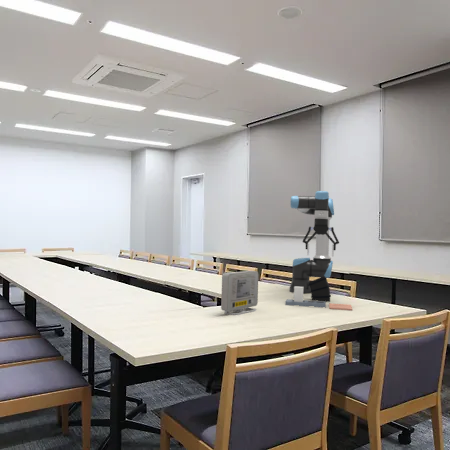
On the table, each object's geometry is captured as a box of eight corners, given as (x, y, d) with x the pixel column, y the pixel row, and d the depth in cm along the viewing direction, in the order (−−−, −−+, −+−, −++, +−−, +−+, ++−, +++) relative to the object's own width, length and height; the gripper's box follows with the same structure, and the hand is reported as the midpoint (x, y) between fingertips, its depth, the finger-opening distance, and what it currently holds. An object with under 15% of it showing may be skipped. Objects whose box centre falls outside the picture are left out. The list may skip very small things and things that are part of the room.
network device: (248, 307, 230) (249, 270, 230) (261, 309, 224) (262, 271, 225) (217, 313, 210) (218, 273, 210) (231, 316, 205) (232, 274, 205)
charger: (294, 303, 246) (294, 286, 246) (303, 304, 244) (303, 286, 244) (293, 304, 242) (294, 287, 242) (302, 305, 241) (303, 287, 241)
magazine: (334, 299, 254) (324, 276, 257) (314, 307, 259) (304, 283, 262) (335, 298, 258) (325, 275, 260) (315, 306, 263) (306, 283, 265)
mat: (329, 304, 246) (329, 303, 246) (351, 306, 243) (351, 304, 243) (329, 308, 232) (329, 307, 232) (352, 310, 230) (352, 309, 230)
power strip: (286, 302, 249) (286, 298, 249) (325, 305, 243) (325, 301, 243) (285, 304, 241) (285, 300, 241) (325, 307, 236) (325, 303, 236)
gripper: (298, 217, 243) (297, 255, 243) (344, 218, 237) (343, 257, 237) (299, 218, 250) (298, 254, 250) (343, 219, 244) (342, 256, 244)
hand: (320, 255), depth 243 cm, fingers open, 13 cm apart
